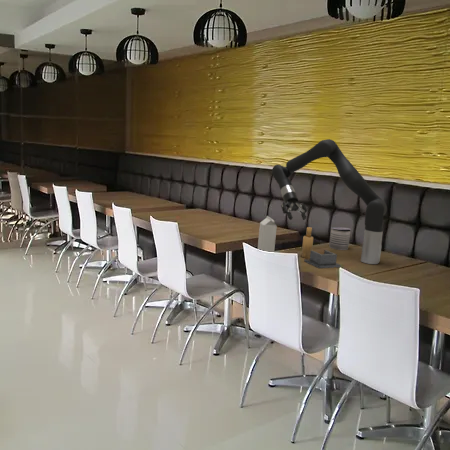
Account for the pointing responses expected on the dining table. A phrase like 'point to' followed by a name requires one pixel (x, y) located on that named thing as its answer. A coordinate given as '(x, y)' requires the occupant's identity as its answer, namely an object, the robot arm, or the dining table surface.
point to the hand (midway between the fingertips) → (298, 219)
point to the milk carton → (267, 235)
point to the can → (339, 238)
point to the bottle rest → (323, 259)
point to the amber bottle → (307, 244)
